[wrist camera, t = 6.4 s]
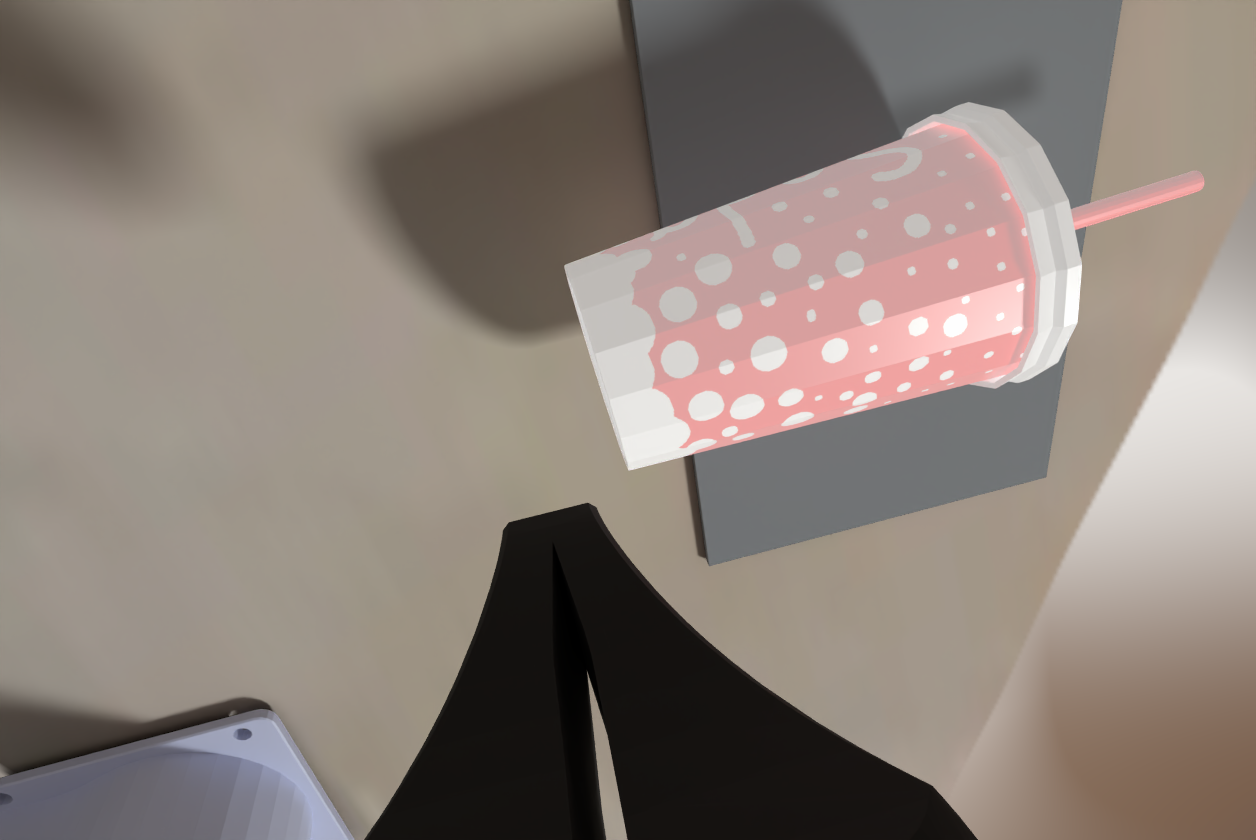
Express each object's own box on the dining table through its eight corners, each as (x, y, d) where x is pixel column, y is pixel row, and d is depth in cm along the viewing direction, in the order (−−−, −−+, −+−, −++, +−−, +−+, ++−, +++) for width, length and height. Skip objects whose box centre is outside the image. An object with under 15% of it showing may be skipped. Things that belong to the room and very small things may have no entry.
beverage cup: (562, 269, 20) (1067, 114, 20) (634, 497, 19) (1144, 333, 20) (541, 183, 14) (1267, -35, 14) (647, 515, 13) (1381, 278, 14)
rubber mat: (706, 560, 24) (709, 566, 24) (619, -69, 15) (622, -70, 15) (1040, 472, 25) (1046, 477, 25) (1138, -165, 16) (1148, -167, 16)
